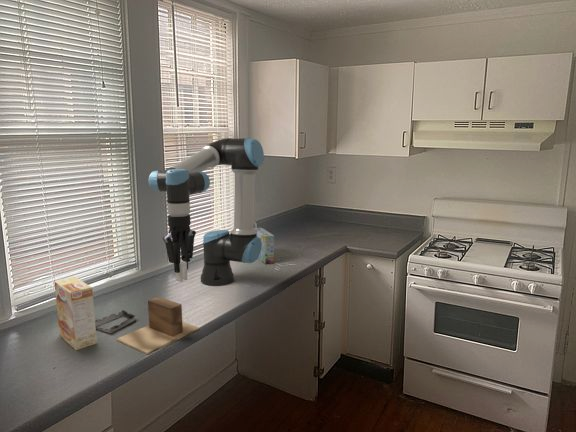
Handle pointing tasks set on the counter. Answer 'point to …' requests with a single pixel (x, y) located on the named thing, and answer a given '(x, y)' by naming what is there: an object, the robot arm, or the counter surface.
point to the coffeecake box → (75, 312)
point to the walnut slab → (165, 316)
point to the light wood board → (153, 338)
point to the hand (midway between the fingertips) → (181, 279)
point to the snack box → (266, 245)
